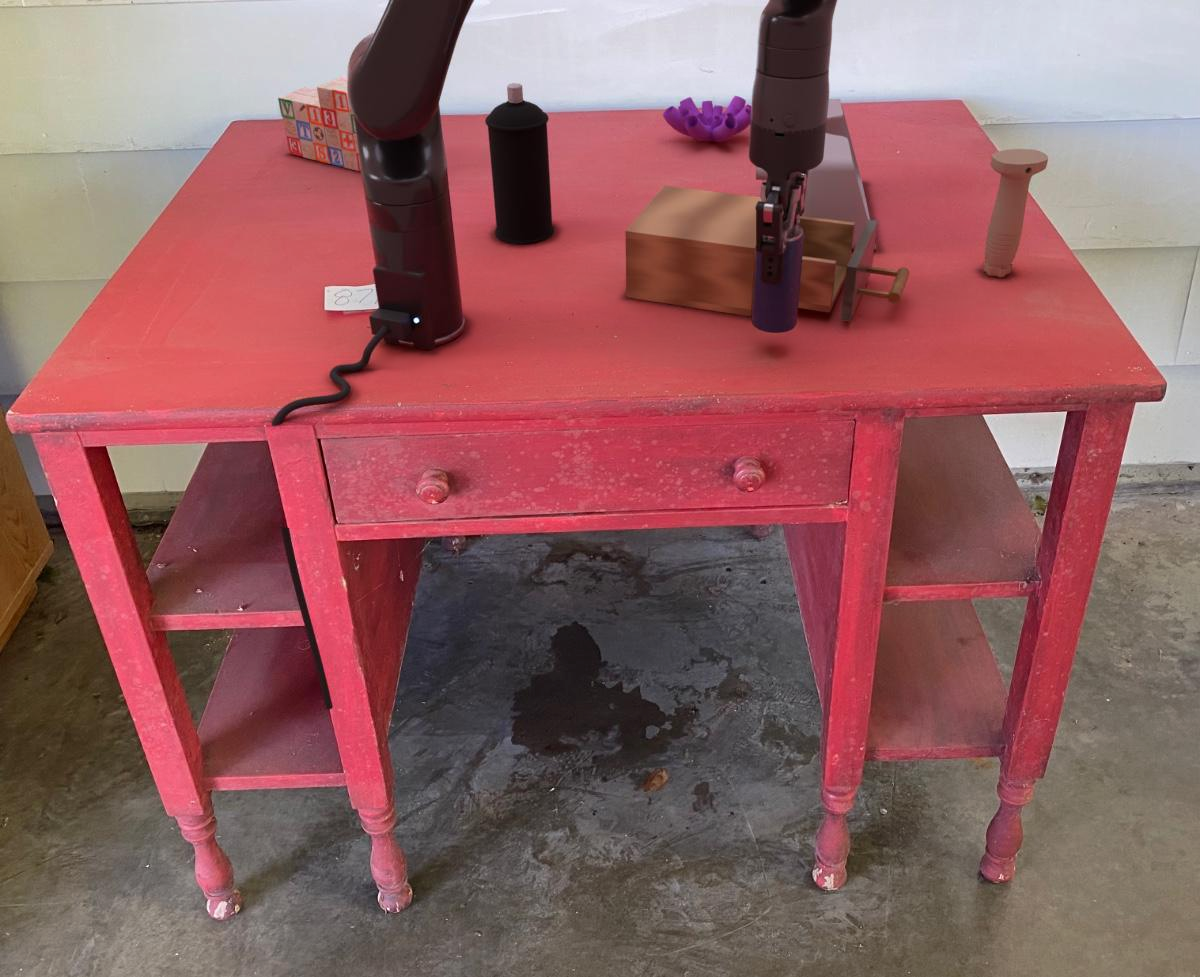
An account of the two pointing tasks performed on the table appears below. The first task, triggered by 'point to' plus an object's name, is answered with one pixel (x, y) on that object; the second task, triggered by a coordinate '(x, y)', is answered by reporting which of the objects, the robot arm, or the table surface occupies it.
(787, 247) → the can
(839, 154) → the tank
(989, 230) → the handle
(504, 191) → the aerosol can
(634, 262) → the cabinet
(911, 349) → the table surface
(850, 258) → the drawer
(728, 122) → the pipe connector assembly
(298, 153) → the stack of blocks
